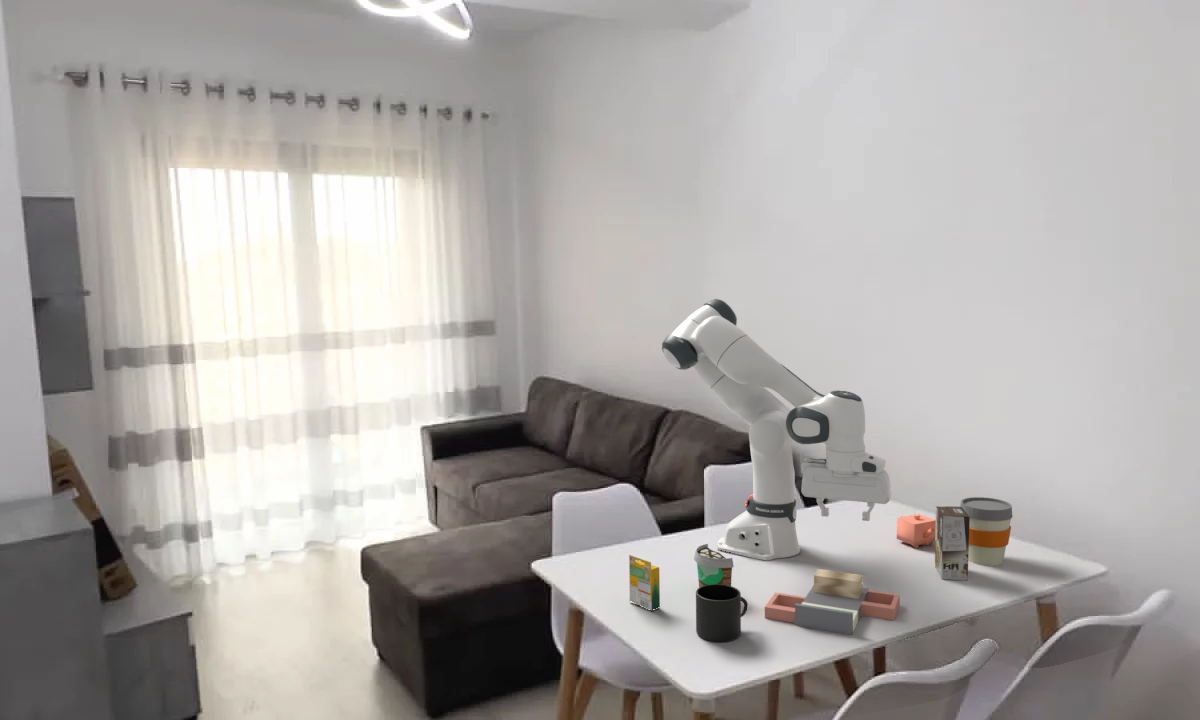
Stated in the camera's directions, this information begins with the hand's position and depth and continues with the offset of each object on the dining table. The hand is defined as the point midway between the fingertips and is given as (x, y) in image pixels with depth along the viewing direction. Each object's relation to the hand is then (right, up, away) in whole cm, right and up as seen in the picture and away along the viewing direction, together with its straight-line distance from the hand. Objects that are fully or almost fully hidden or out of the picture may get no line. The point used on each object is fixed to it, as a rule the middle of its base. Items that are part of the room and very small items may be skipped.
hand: (845, 517), depth 199 cm
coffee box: (+30, -16, +12) cm, 36 cm away
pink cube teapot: (+30, -14, +34) cm, 47 cm away
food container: (-32, -19, +3) cm, 37 cm away
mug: (-32, -21, -19) cm, 42 cm away
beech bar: (-3, -16, -5) cm, 17 cm away
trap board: (-6, -19, -10) cm, 22 cm away
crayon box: (-48, -20, -4) cm, 52 cm away
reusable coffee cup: (+42, -15, +21) cm, 50 cm away
